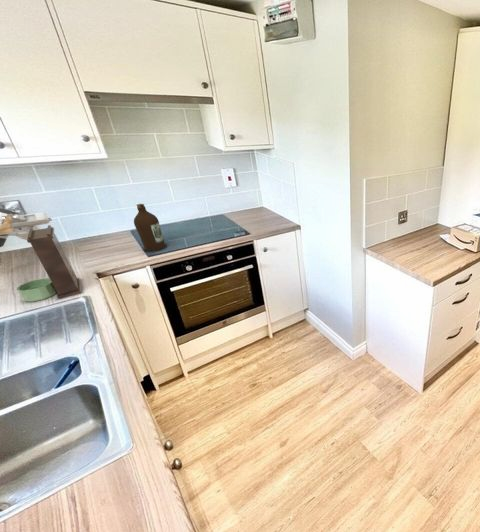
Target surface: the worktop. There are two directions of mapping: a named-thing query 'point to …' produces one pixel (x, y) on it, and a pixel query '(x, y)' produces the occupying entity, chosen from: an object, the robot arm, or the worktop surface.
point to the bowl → (37, 289)
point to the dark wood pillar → (54, 261)
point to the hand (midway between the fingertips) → (8, 217)
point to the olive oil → (149, 229)
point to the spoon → (7, 225)
